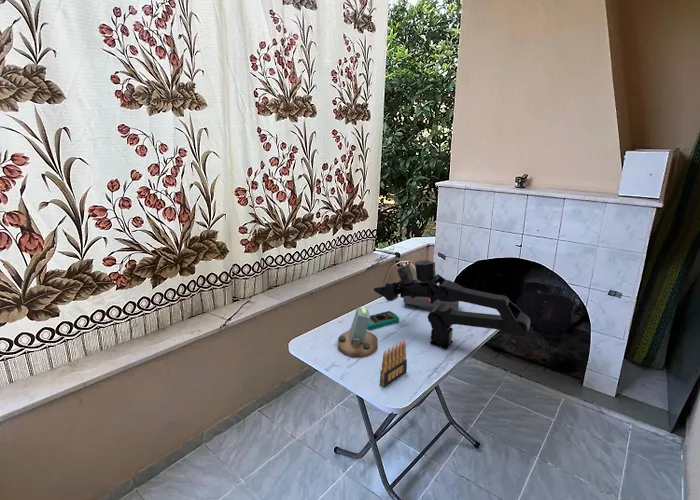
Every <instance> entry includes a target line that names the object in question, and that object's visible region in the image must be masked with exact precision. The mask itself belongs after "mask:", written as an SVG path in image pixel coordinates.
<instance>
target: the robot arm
mask: <svg viewBox="0 0 700 500" xmlns="http://www.w3.org/2000/svg"><path fill="white" fill-rule="evenodd" d="M414 267H415V275H416V276H415V277H416V279H415V278H414V275H413V271H412V270H411V267H410V265H408V264H407V265H404V266H401V267H399V268H396V273H397V274H398V277H399V278H400V279H399V280H398V282H395V281H393V282H390V281H389V282H386V283H385V285H384V286H377V287H374V288H373V292H375V293H377V294H378V295H379V296H382V297H383V298H384V299H385V300H386V301H387V302H393V301H395V300H397V299H398V298H399V295H400V298H402V299H403V298H404V297H411V298H416V297H418V298H430V301H431V304H433V303H434V302H435V301H436V300H440V301H443V302H456V301H459V302H463V303H466V304H467V303H468V304H472V305H477V306H481V307H484V308H489V309H493V310H496V311H497V312H498V313H499V314H493V313H481V312H471V311H463V310H455V309H453V308H452V304H443V303H441V304H440V305H437V306H435V307H434V308H433V310H430V312H429V313H428V315H427V320H428V322H429V323H430V326H431V331H430V332H431V333H430V341H429V344H430V345H431V346H435V347H438V348H440V349H444V350H448V349H449V348H450V347H451V345H453V343H454V340H453V332H454V328H453V327H452V325H457V326H458V325H459V326H468V327H475V328H476V327H477V328H483V329H489V330H490V329H492V330H497V331H500V332H502V333H504V334H505V335H508V336H512V337H515V338H524V337H525V336H527V334H528V332H529V329H530V325H531V319H530V317H529V316H528V315H527V313H525V312H523V311H522V310H521V309H520V308H519V306H517V305H516V304H515V303H513V302H512V300H511V299H509V297H508V296H506V295H503V294H501V295H500V294H495V293H491V292H485V291H481V290H476V289H472V288H466V287H464V286H462V285H460V284H459V283H456V282H455V281H451V280H449V279H448V280H447V279H446V278H444V277H443V276H441V274H438V273H436V262H435V261H431V260H429V259H421V260H418V261H415V262H414Z"/></svg>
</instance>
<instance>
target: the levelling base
mask: <svg viewBox="0 0 700 500" xmlns="http://www.w3.org/2000/svg"><path fill="white" fill-rule="evenodd" d="M337 348H338V350H339V352H340V353H342V354H343V355H345V356H346V357H351V358H359V359H361V358H366V357H370V356H372V355H374V354H376V352H377V351H378V348H379V339H378V337H377V336H376V334H374V333H372V332H370V331H369V330H368V331H367V330H366V333H365V336H364V339H363V343H359V338H353V341H351V337H350V330H348V331H345V332H342V333H341V334H340V335H339V337H338V338H337Z"/></svg>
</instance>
